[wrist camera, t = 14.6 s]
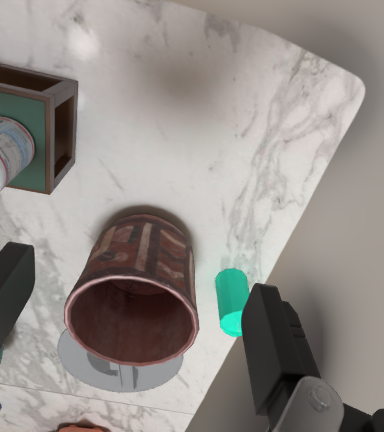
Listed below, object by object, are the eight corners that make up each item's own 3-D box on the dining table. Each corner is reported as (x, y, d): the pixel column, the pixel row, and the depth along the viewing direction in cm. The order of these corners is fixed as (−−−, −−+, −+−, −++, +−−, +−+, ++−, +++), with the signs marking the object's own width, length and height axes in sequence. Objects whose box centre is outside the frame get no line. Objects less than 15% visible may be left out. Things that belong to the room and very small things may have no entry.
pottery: (98, 278, 62) (69, 364, 47) (93, 197, 53) (55, 270, 38) (191, 284, 63) (192, 371, 48) (202, 206, 54) (208, 281, 39)
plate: (179, 392, 82) (179, 397, 81) (66, 389, 81) (64, 394, 80) (186, 315, 68) (186, 320, 67) (48, 309, 66) (46, 314, 65)
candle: (242, 293, 65) (252, 345, 54) (212, 290, 64) (217, 342, 54) (250, 270, 62) (262, 321, 51) (218, 266, 61) (225, 317, 51)
